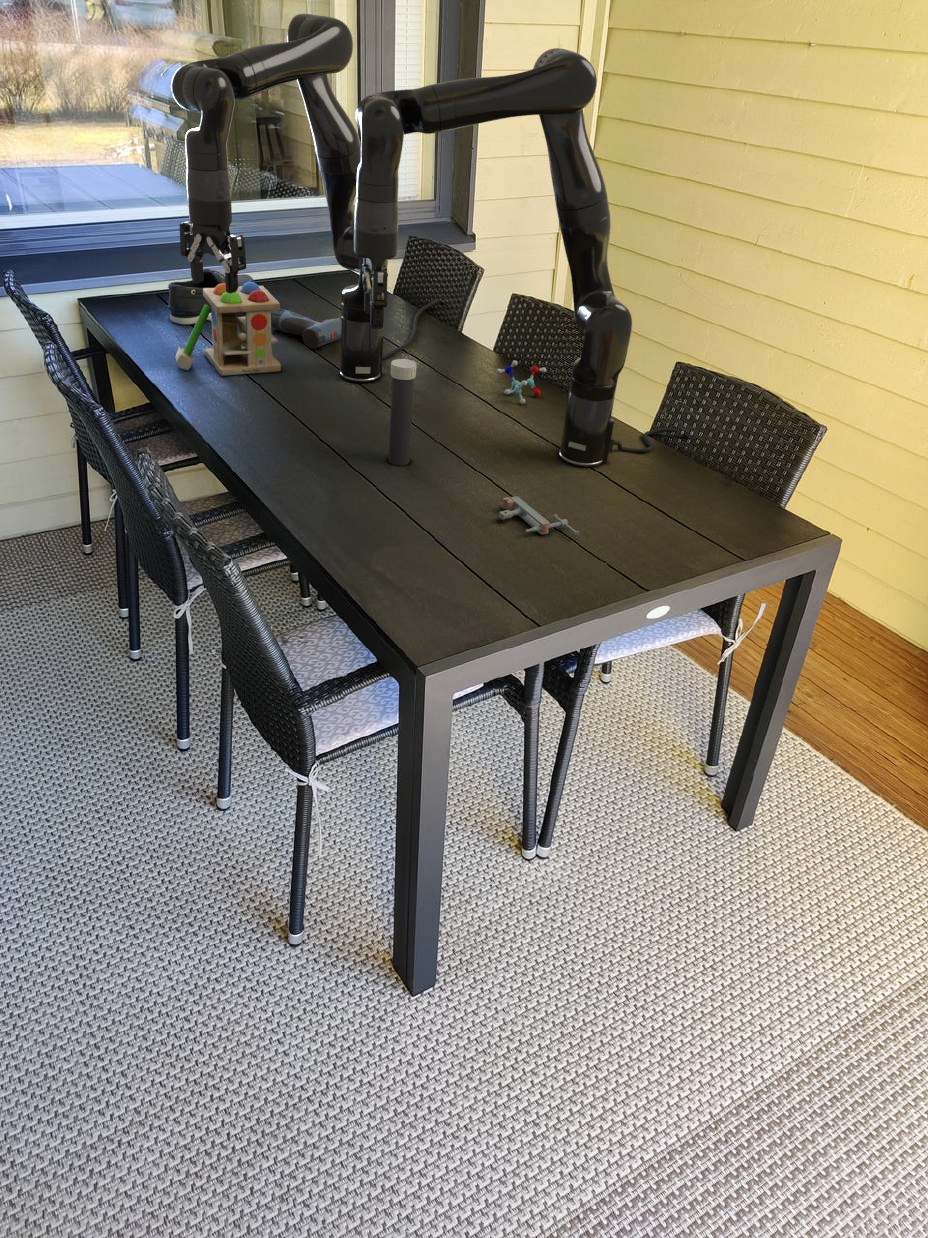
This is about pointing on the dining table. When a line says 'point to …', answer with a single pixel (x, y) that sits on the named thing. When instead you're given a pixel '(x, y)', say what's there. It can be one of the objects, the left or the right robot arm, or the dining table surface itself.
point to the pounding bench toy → (229, 347)
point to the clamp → (530, 516)
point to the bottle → (401, 421)
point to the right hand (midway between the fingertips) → (373, 320)
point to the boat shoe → (195, 296)
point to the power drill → (307, 327)
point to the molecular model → (516, 383)
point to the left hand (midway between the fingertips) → (214, 287)
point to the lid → (403, 369)
